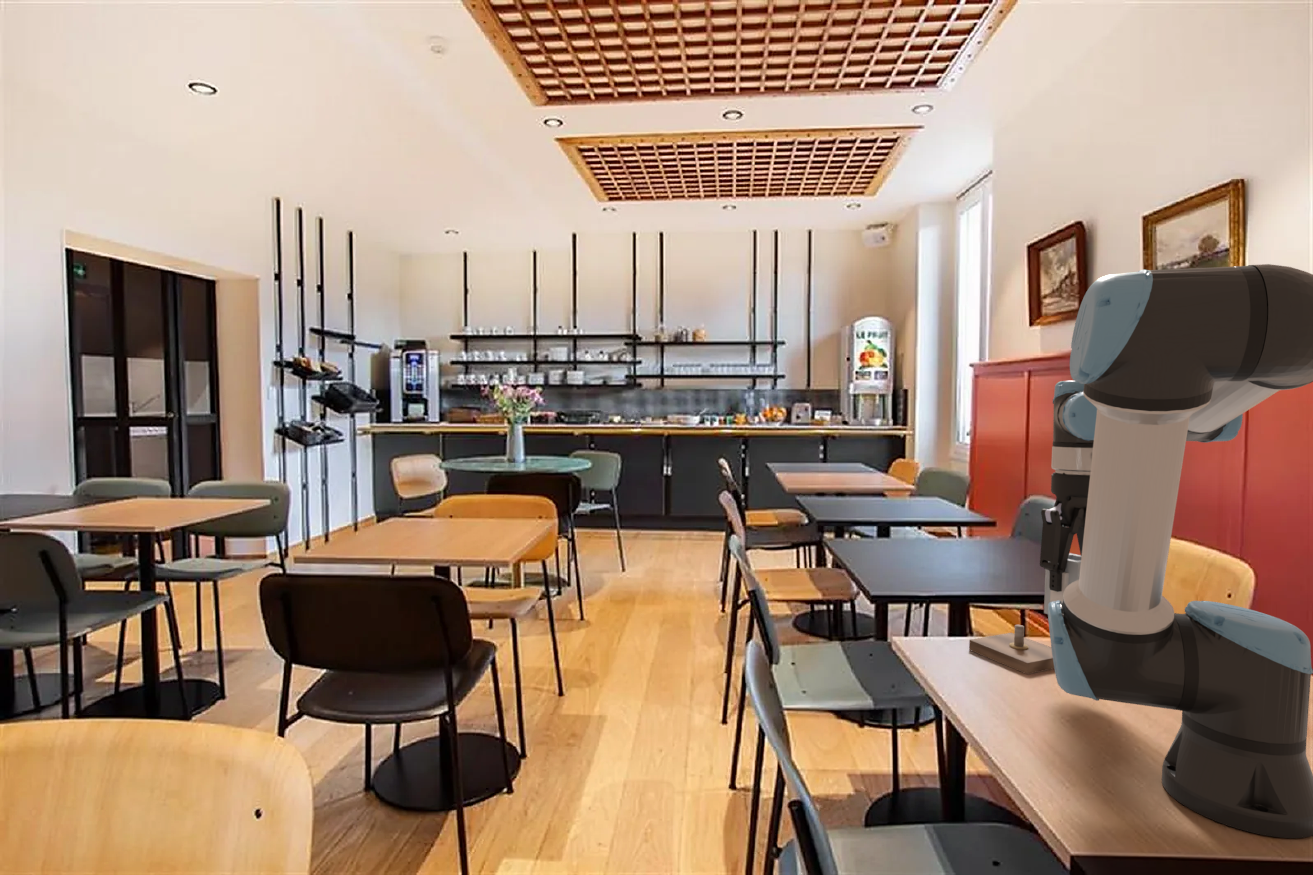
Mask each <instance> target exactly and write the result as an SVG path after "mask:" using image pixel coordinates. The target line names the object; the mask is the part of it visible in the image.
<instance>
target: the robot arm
mask: <svg viewBox="0 0 1313 875" xmlns="http://www.w3.org/2000/svg"><path fill="white" fill-rule="evenodd" d="M1072 332H1073V333H1072V337H1071V343H1070V344H1071V345H1070V346H1071V347H1070V349H1071V352H1070V355H1069V372H1070V374H1069V375H1070V377H1071V379H1072V380H1063V381H1062V380H1061V381H1058V382H1057V383H1056V384H1055V385H1054V391H1053V393H1054V394H1053V395H1054V396H1053V399H1052V404H1053V415H1052V416H1053V418H1052V419H1053V420H1052V422H1053V423H1052V425H1053V428H1052V430H1053V431H1052V447H1051V466H1050V468H1051V469H1052V470H1054V472H1052V473H1051V474H1050V475H1051V476H1050V477H1051V479H1050V481H1051V482H1050V484H1051V485H1050V492H1051V493H1052V494H1053V495H1055V503H1054V505H1053V507H1052V508H1051V507H1050V508H1049V509H1048V508H1042V509H1041V512H1040V513H1041V520H1042V531H1041V544H1040V555H1039V556H1040V557H1039V566H1040V567H1041V568H1043V569H1044V570H1045V569H1047V570H1049V571H1050V580H1049V583H1050V584H1049V588H1050V603H1049V604H1048V614H1047V617H1048V618H1047V620H1048V629H1049V638H1050V639H1049V640H1050V647H1051V648H1052V656H1053V663H1054V673H1055V679H1056V682H1057V685H1058V686H1059V688H1060V689H1061V690H1063V691H1064V692H1065V693H1067V694H1069V695H1071V696H1072V695H1073V696H1078V697H1083V698H1089V699H1092V700H1093V701H1097V702H1098V701H1100V700H1103V701H1111V702H1117V703H1123V704H1124V703H1125V704H1130V705H1139V706H1145V707H1152V708H1160V709H1166V710H1175V711H1180V712H1181V711H1182V712H1181V725H1180V728H1179V730H1178V732H1177V733H1176V736H1175V737H1174V740H1173V741H1172V743H1171V745H1170V748H1169V749H1168V751H1167V753H1166V755H1165V757H1164V759H1163V763H1162V765H1161V766H1162V770H1161V784H1162V786H1163V787H1164V789H1165V791H1166V792H1167V793H1168V794H1169V795H1170V796H1171V797H1172V798H1173V799H1175V800H1176V801H1177V802H1179V803H1180V804H1182V805H1183V806H1184V807H1186V808H1187V809H1189V810H1191V811H1193V812H1195V813H1197V814H1199V815H1201V816H1203V817H1206V818H1207V819H1211V820H1212V821H1215V822H1217V823H1220V824H1223V825H1225V826H1228V827H1231V828H1235V829H1237V830H1241V831H1244V832H1247V833H1252V834H1258V835H1261V836H1268V837H1273V838H1285V839H1302V838H1309V837H1312V836H1313V772H1312V769H1311V766H1310V765H1311V764H1310V763H1309V759H1308V757H1307V740H1308V739H1307V738H1308V723H1309V709H1310V708H1309V705H1310V691H1311V678H1312V675H1313V668H1312V658H1311V656H1312V655H1311V654H1312V652H1311V642H1310V639H1309V637H1308V636H1307V635H1306V633H1305V632H1304V631H1303V630H1301V629H1300V628H1299V627H1297V626H1296V625H1294V624H1292V623H1290V622H1288V621H1285V620H1284V619H1281V618H1279V617H1276V616H1273V615H1270V614H1266V613H1263V612H1260V611H1258V610H1254V609H1250V608H1246V607H1243V606H1238V605H1233V604H1229V603H1228V604H1227V603H1223V602H1219V601H1218V602H1217V601H1210V600H1192V601H1190V602H1188V603H1187V604H1186V606H1185V607H1184V612H1185V613H1177V612H1175V610H1174V607H1173V605H1172V604H1171V602H1170V601H1169V600H1168V599H1167V598H1166V597H1165V596H1163V592H1164V585H1165V577H1166V571H1167V570H1166V569H1167V565H1168V558H1169V553H1170V546H1171V539H1172V533H1173V527H1174V521H1175V515H1176V508H1177V502H1178V495H1179V490H1180V489H1179V488H1180V482H1181V481H1180V480H1181V475H1182V470H1183V469H1182V468H1183V462H1184V458H1185V457H1184V456H1185V450H1186V442H1199V443H1202V444H1204V443H1211V442H1229V441H1232V440H1234V439H1235V438H1236V437H1237V436H1238V435H1239V431H1240V430H1241V427H1242V424H1243V416H1244V413H1246V412H1247V411H1249V410H1250V409H1252V408H1254V407H1255V406H1257V405H1259V404H1261V403H1262V402H1264V401H1265V400H1267V399H1269V397H1272V395H1274V394H1276V393H1277V392H1278V393H1279V391H1287V390H1288V391H1289V390H1294V389H1299V388H1302V387H1304V386H1307V385H1309V384H1312V383H1313V274H1312V273H1310V272H1307V271H1305V270H1301V269H1298V268H1295V267H1291V266H1285V265H1280V264H1271V263H1270V264H1269V263H1266V264H1249V265H1241V266H1240V265H1236V266H1219V267H1217V266H1216V267H1214V266H1213V267H1195V268H1173V269H1172V268H1171V269H1169V268H1168V269H1151V270H1149V269H1140V270H1138V271H1131V272H1122V273H1113V274H1106V275H1104V276H1101V277H1099V278H1097V279H1096V280H1095V281H1093V283H1092V284H1091V285H1090V286H1089V287H1088V288H1087V291H1086V292H1085V294H1084V296H1083V299H1082V301H1081V303H1080V305H1079V309H1078V312H1077V316H1076V320H1075V323H1074V328H1073V331H1072ZM1075 535H1076V538H1077V543H1078V547H1079V548H1078V549H1079V553H1080V554H1079V555H1082V557H1081V566H1080V576H1079V580H1076V581H1074V582H1072V583H1071V584H1069V585H1068V582H1069V573H1066V572H1065V568H1066V564H1067V560H1068V556H1069V553H1071V548H1072V545H1073V544H1072V543H1073V539H1074V536H1075ZM1058 563H1059V564H1058Z"/></svg>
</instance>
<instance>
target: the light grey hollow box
mask: <svg viewBox="0 0 1313 875" xmlns="http://www.w3.org/2000/svg"><path fill="white" fill-rule="evenodd" d="M1081 557H1082V555H1081V554H1076V553H1072V552H1069V556H1068V560H1067V564H1066V568H1065V572H1066V573H1069V582H1068V585H1069V584H1071V583H1072V582H1074V581H1076V580H1079V576H1080V566H1081ZM1058 564H1059V563H1058ZM1044 574H1045V576H1044V598H1043V600H1044V601H1043V602H1044V604H1043V606H1044V607H1043V614H1045V615H1048V604H1049V603H1050V588H1049V584H1050V583H1049V580H1050V571H1049V570H1047V569H1044Z"/></svg>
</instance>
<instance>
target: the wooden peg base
mask: <svg viewBox="0 0 1313 875" xmlns="http://www.w3.org/2000/svg"><path fill="white" fill-rule="evenodd" d="M968 646H969V649H968V650H969V651H970V652H974V653H975V654H978V655H981V656H983V657H985V658H987V659H990V660H992V661H995V662H997V663H999V664H1003V665H1004V666H1006V667H1009V668H1012V669H1013V670H1017V671H1019V672H1021V673H1024V674H1025V675H1031V674H1033V673H1035V674H1036V673H1040V672H1045V671H1049V670H1053V669H1054V663H1053V656H1052V648H1051V646H1048V645H1046V644H1043V643H1040V642H1039V641H1035V640H1032V639H1029V638H1027V637H1025V625H1021V624H1015V625H1014V632H1008V633H1007V632H1006V633H1002V634H996V635H990V636H985V637H979V638H973V639H969V643H968ZM1054 670H1055V669H1054Z"/></svg>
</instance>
